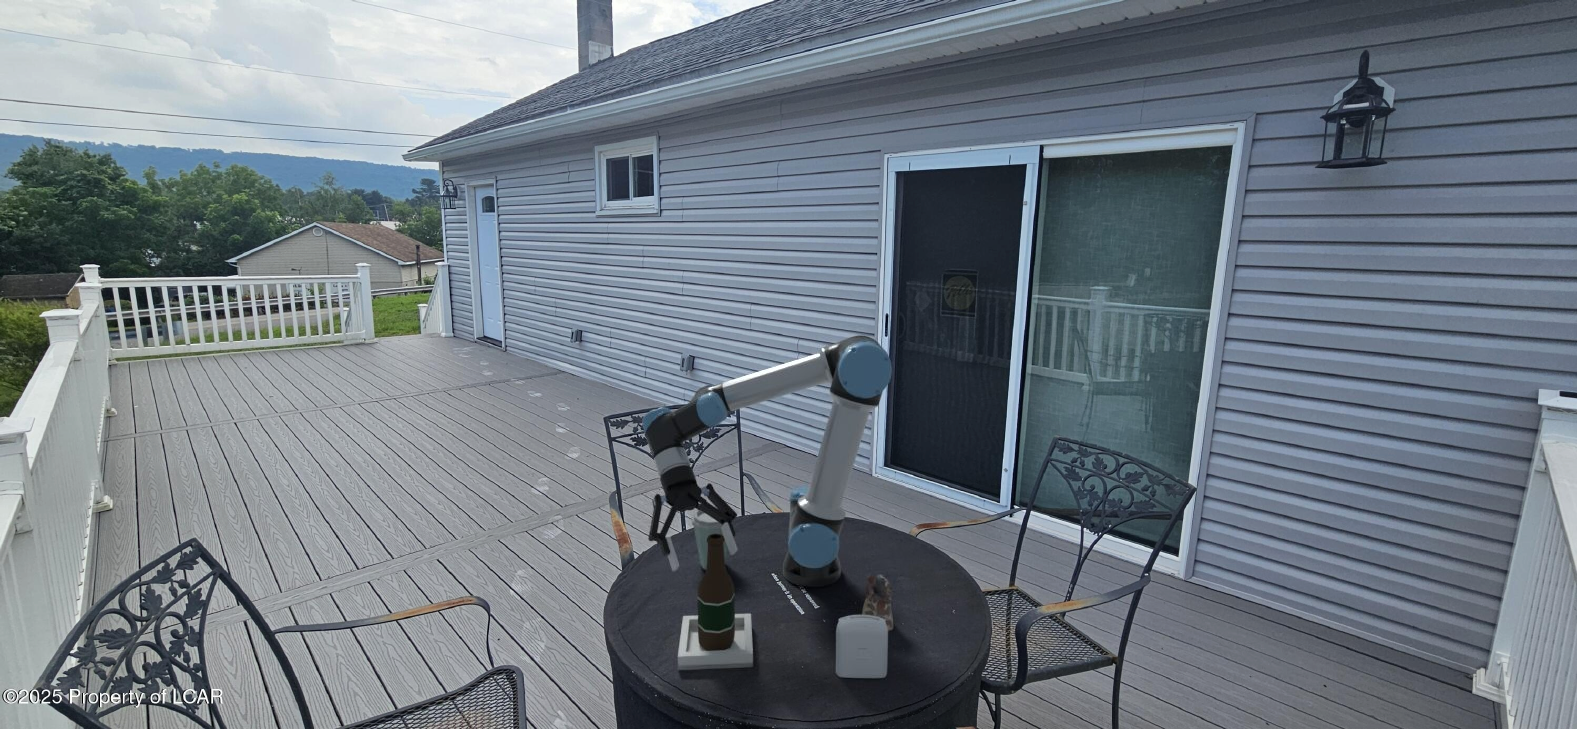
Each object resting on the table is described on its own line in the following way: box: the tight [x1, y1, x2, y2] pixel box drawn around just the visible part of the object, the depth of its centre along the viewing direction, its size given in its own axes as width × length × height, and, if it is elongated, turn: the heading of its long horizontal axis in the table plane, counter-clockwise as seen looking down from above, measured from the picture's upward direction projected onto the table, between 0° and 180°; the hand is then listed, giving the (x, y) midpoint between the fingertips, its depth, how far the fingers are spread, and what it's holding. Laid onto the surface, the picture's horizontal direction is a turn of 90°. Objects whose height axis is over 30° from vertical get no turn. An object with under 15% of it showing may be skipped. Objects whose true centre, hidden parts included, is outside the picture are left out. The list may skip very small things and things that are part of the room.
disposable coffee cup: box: [690, 505, 728, 571], centre depth 177 cm, size 11×11×15 cm
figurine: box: [861, 574, 894, 632], centre depth 150 cm, size 7×7×12 cm
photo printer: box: [835, 614, 889, 679], centre depth 132 cm, size 10×4×12 cm, turn 88°
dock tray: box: [677, 613, 754, 671], centre depth 142 cm, size 15×15×3 cm
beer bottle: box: [697, 534, 736, 651], centre depth 140 cm, size 8×8×24 cm
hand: (705, 560), depth 141 cm, fingers open, 13 cm apart
